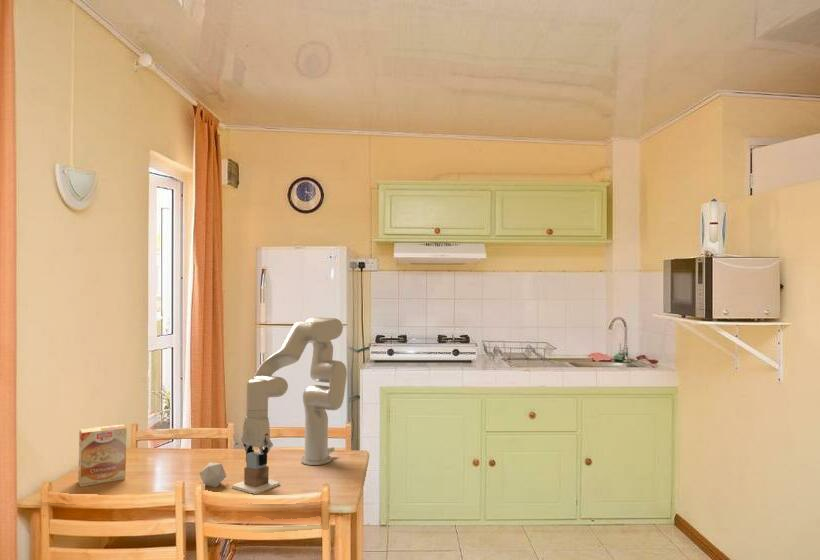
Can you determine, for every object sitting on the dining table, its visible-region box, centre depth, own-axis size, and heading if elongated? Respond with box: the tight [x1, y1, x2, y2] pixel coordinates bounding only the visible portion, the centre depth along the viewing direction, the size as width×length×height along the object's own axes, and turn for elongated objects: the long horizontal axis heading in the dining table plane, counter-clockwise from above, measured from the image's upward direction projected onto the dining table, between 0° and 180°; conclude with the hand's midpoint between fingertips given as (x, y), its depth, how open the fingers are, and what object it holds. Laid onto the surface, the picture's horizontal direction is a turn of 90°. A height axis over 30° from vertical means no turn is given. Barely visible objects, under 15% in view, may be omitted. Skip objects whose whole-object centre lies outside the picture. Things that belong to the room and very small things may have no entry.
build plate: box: [231, 478, 281, 495], centre depth 204 cm, size 12×12×1 cm
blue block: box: [246, 450, 268, 470], centre depth 204 cm, size 5×5×5 cm
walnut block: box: [243, 465, 270, 488], centre depth 204 cm, size 6×6×6 cm
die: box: [199, 461, 227, 488], centre depth 205 cm, size 8×9×10 cm
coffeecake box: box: [77, 423, 127, 488], centre depth 209 cm, size 15×7×20 cm, turn 126°
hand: (256, 462), depth 204 cm, fingers open, 6 cm apart
